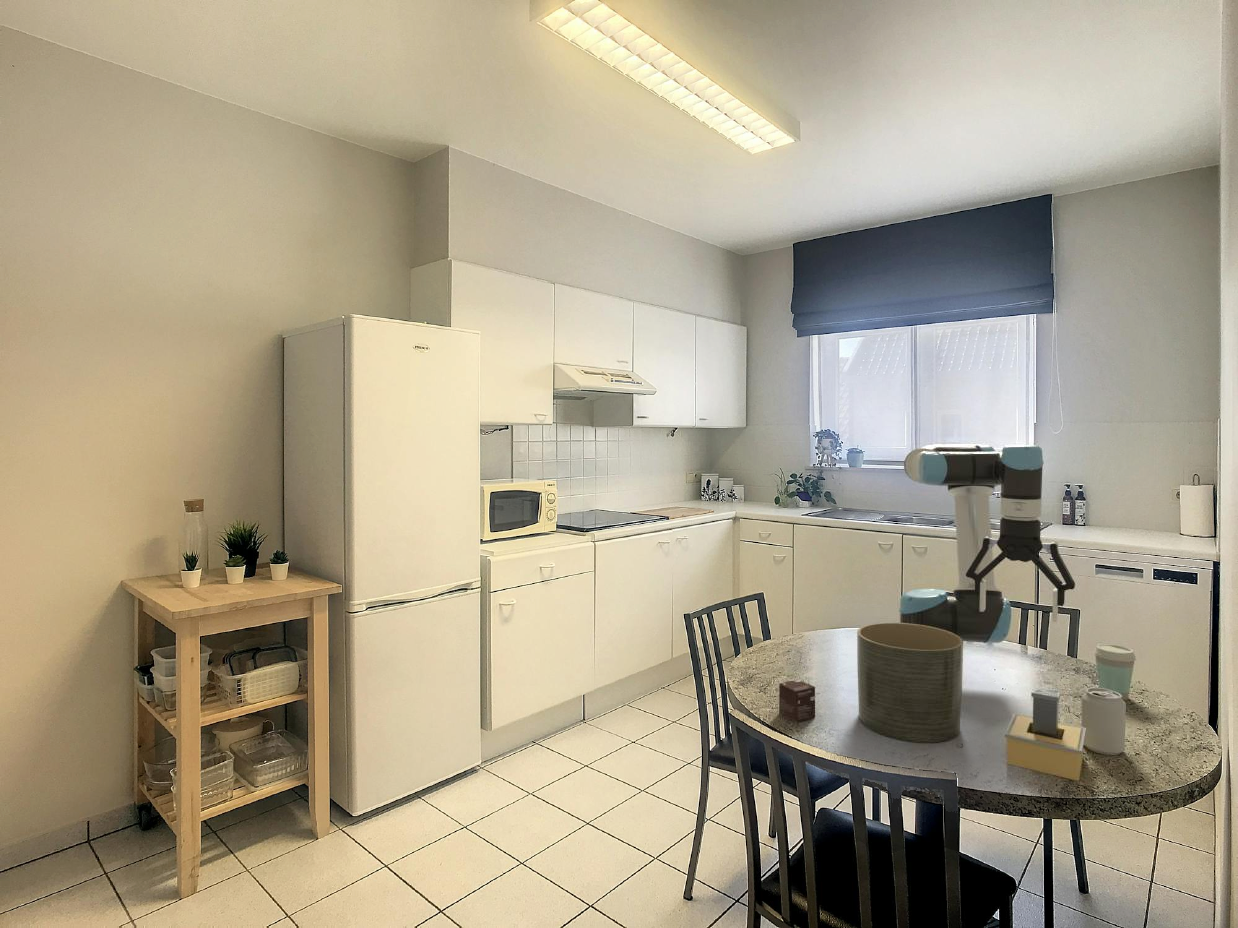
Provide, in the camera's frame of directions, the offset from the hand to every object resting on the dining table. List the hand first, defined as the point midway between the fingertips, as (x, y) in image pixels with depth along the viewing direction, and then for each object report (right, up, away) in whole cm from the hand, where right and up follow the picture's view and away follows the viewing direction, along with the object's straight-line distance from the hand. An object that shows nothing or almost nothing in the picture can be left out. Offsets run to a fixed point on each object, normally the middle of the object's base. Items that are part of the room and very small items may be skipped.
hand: (1017, 615), depth 149 cm
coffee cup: (+38, -26, +24) cm, 51 cm away
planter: (-20, -27, +8) cm, 34 cm away
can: (+15, -27, -5) cm, 31 cm away
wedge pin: (0, -27, -10) cm, 29 cm away
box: (-44, -27, +13) cm, 53 cm away
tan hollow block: (0, -27, -10) cm, 29 cm away
